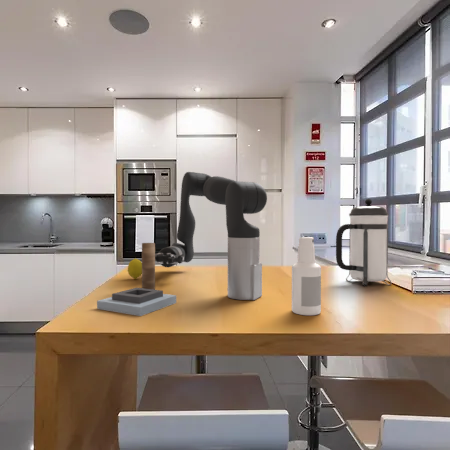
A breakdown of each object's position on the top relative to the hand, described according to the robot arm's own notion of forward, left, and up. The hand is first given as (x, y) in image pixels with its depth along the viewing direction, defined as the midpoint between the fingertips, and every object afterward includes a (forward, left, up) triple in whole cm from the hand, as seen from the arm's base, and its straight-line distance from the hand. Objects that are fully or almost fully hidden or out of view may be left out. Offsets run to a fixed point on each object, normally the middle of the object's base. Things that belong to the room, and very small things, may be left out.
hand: (157, 260), depth 112 cm
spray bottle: (-53, +10, -9) cm, 54 cm away
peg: (-3, +8, -9) cm, 12 cm away
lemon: (+15, -6, -9) cm, 19 cm away
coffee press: (-63, -37, -9) cm, 73 cm away
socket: (-13, +24, -8) cm, 28 cm away
